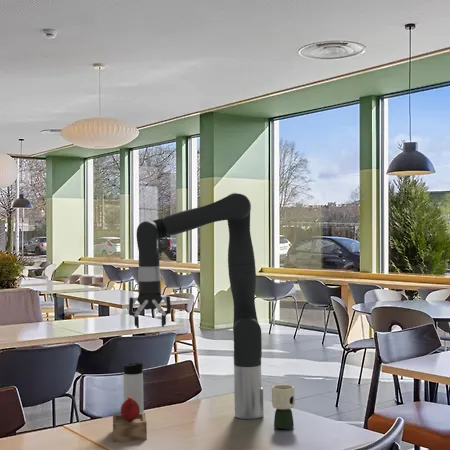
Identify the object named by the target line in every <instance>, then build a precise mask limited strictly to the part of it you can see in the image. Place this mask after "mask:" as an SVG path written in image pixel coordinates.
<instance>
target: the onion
mask: <svg viewBox="0 0 450 450" xmlns="http://www.w3.org/2000/svg"><path fill="white" fill-rule="evenodd" d="M139 413H140V407H139V405H138V403H137V402H136V401H135V400H133V399H132V398H131V397H130V396H128V399H127V400H126V401H125V402H124V401H123V403H122V404H121V407H120V415H122V416H123V418H125V419H126V420H127V421H128V422H132V421H133V420H135V419H136V418H137V417H138V415H139Z"/></svg>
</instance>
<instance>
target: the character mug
mask: <svg viewBox="0 0 450 450" xmlns="http://www.w3.org/2000/svg"><path fill="white" fill-rule="evenodd" d="M295 402H296V399H295V386H294V385H292V384H291V385H290V384H285V383H284V384H274V385H272V386H271V405H272V408H274V409H276V410H275V411H274V419H273V420H274V421H273V427H274V428H277V429H282V430H291V429H293V428H294V427H295V425H294V417H293V411H292V409H294V408H295V406H296V405H295V404H296V403H295Z"/></svg>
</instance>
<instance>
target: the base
mask: <svg viewBox="0 0 450 450" xmlns="http://www.w3.org/2000/svg"><path fill="white" fill-rule="evenodd" d="M147 427H148V425H147V418H146V412H144V413H139V415H138V417H137V418H136V419H135V420H133V421H132V422H128V421H127V420H126V419H125V418H123V416H122V415H121V414H112V439H113V440H112V441H113V442H115V441H116V442H126V441H127V442H129V441H137V440H138V441H139V440H140V441H142V440H148V439H147V437H148V429H147ZM116 442H115V443H116Z"/></svg>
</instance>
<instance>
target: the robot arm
mask: <svg viewBox="0 0 450 450" xmlns="http://www.w3.org/2000/svg"><path fill="white" fill-rule="evenodd" d="M251 206H252V205H251V201H250V199H249V197H248V196H246V195H245V194H244V193H241V192H232V193H230V194H228V195H227V196H225V197H223V198H221V199H219V200H217V201H214V202H212V203H209V204H205V205H203V206H199V207H198V206H197V207H195V208H190V209H186V210H185V209H184V210H182V211H179V212H175V213H171V214H169V215H165V216H164V217H162V218H158V219H153V220H143V222H141V223H139V224H138V226H137V228H136V244H137V249H138V271H137V272H138V273H137V274H138V275H137V276H138V277H137V281H138V283H137V284H138V285H137V287H138V289H137V290H138V296H137V297H132V296H130V297H129V299H128V315H129V316H132V317H133V318H134V321H133V322H134V327H136V328H137V329H139V328H140V321H139V315H140V314H141V313H142V311H143V310H145V311H146V310H158V311H159V312H160V314H161V316H160V317H161V321H160V322H161V327H162V328H164V327H165V326H166V324H167V315H169V314H172V305H171V297H170V295H166V296H162V293H161V291H162V288H161V285H162V284H161V279H162V278H161V269H160V252H159V250H158V240H161V239H164V238H166V237H169V236H175V235H179V234H182V233H185V232H189V231H192V230H194V229H197V228H200V227H203V226H205V225H208V224H212V223H216V222H221V221H227V226H228V235H229V237H228V239H229V240H228V249H227V268H228V278H229V285H230V291H231V295H232V300H233V301H232V302H233V325H232V332H233V380H234V381H233V385H234V386H233V388H234V389H233V390H234V391H233V392H234V394H233V395H234V417H235V418H237V419H243V420H255V419H258V418H259V419H260V418H264V417H265V416H264V415H265V414H264V413H265V412H264V411H265V409H264V407H265V406H264V388H263V387H262V354H263V353H262V346H263V345H262V328H261V326H260V324H259V320H258V315H257V309H256V302H255V301H256V299H255V298H256V297H255V296H256V287H257V285H256V284H257V270H256V259H255V252H254V246H253V241H252V235H251V211H252V207H251ZM162 301H163V302H164V303H165V304H166V310H164V309H163V307H161V305H160V304H161V302H162ZM136 302H138V304H139V306H138V308H137V309H136V310H135V311H134V305H135V304H136Z"/></svg>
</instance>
